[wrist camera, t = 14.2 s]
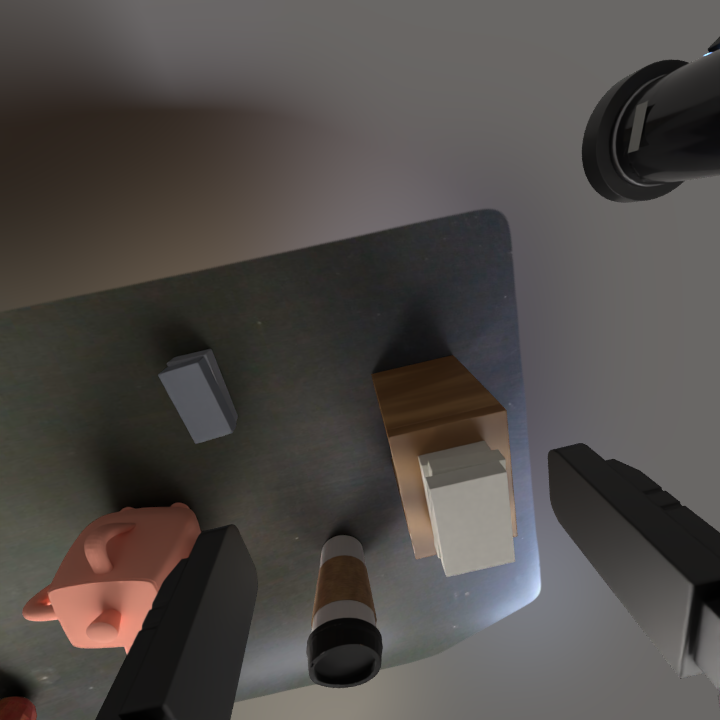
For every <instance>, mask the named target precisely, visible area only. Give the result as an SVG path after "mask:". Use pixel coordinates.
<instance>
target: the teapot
mask: <svg viewBox="0 0 720 720" xmlns="http://www.w3.org/2000/svg"><path fill="white" fill-rule="evenodd" d="M200 533H201V530H200V527H199V524H198V520H197V518H196V515H195V513H194V512H193V511H192V510H191V509H189V507H188V506H187V505H185V504H183V503H174V504H172V505H171V506H170V507H147V508H137V509H135V508H132V507H125V508H123V509H122V510H121V511H119V512H114V513H110V514H107V515H104V516H102V517H100V518H98V519H96V520H95V521H93V522H92V523H90V524H89V525H88V526H87V527H86V528H85V529H84V530H83V531H82V533H81V534H80V535H79V536H78V538H77V539H76V541H75V542H74V543H73V545H72V546H71V548H70V549H69V551H68V553H67V554H66V556H65V558H64V560H63V561H62V563H61V565H60V567H59V569H58V571H57V573H56V575H55V577H54V579H53V581H52V583H51V584H50V585H48V586H47V587H46V588H44V589H43V590H41V591H40V592H39V593H37V594H36V595H35V596H34V597H33V598H31V599H30V600H29V601H28V602H27V603H26V605H25V606H24V608H23V612H22V613H23V616H24V617H25V618H26V619H28V620H30V621H49V620H56V619H58V620H59V622H60V624H61V625H62V627H63V629H64V631H65V633H66V635H67V637H68V638H69V640H70V641H71V643H72V644H73V646H75V647H79V648H110V647H123V646H124V647H125V650H126V653H127V654H128V652H129V650H130V648H131V646H132V644H133V642H134V640H135V638H136V636H137V634H138V632H139V631H140V630H141V629H142V624H143V621H144V619H145V617H146V615H147V613H148V611H149V610H150V609H152V603H153V601H154V599H155V597H156V595H157V593H158V591H159V589H160V587H161V585H162V583H163V581H164V580H165V578H166V577H167V576H168V575H169V574H170V572H171V571H172V570H173V569H174V568H175V566H176V565H177V564H178V563H179V562H180V560H181V559H184V558H188V557H189V555H190V553H191V551H192V549H193V546H194V544H195V542H196V540H197V537H198V536H199V534H200ZM50 604H52V605H50Z"/></svg>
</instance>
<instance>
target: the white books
mask: <svg viewBox="0 0 720 720" xmlns="http://www.w3.org/2000/svg"><path fill="white" fill-rule="evenodd" d="M418 459H419V464H420V469H421V475H422V480H423V485H424V490H425V495H426V500H427V505H428V510H429V515H430V520H431V525H432V530H433V535H434V545H435V549H436V552H437V555H438V558H439V559H440V558H441V556H440V551H439V545H438V540H437V535H436V530H435V525H434V520H433V514H432V509H431V504H430V499H429V494H428V488H427V483H426V477H429V476H433V475H438V474H442V473H446V472H451V471H455V470H459V469H464V468H468V467H472V466H477V465H481V464H485V463H490V462H494V461H499V462H500V463H501V464H502V466H503V467H504V469H505V470H506V459H505V458H504V457H503V455H502V454H501V453H500V451H499V450H498V449H497V450H491V449H490V447H489V446H488V445H487V443H486V442H485V441H480V442H476V443H472V444H467V445H463V446H459V447H454V448H450V449H446V450H441V451H437V452H433V453H428V454H424V455H420V456H418Z"/></svg>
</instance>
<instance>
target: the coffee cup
mask: <svg viewBox="0 0 720 720" xmlns="http://www.w3.org/2000/svg"><path fill="white" fill-rule="evenodd" d="M376 621H377V619H376V613H375V608H374V603H373V598H372V593H371V588H370V584H369V579H368V574H367V569H366V565H365V559H364V553H363V548H362V545H361V543H360V542H359V541H358V540H357V539H356V538H354V537H351V536H347V535H340V536H335V537H333V538H331V539H329V540H328V541H327V542H326V543H325V544H324V546H323V548H322V554H321V562H320V570H319V575H318V581H317V588H316V595H315V601H314V608H313V615H312V623H311V626H312V633H311V634H310V636H309V638H308V641H307V652H306V653H307V657H308V670H309V676H310V679H311V680H312V681H313V682H314V683H316V684H318V685H321V686H325V687H332V688H346V687H353V686H357V685H361V684H363V683H366V682H367V681H369V680H371V679H372V678H373V677H375V676H376V675H377V673H378V672H379V670H380V668H381V655H382V649H383V646H382V637H381V634H380V632H379V630H378V629H377V628H376Z"/></svg>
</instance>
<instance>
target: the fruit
mask: <svg viewBox="0 0 720 720" xmlns="http://www.w3.org/2000/svg"><path fill="white" fill-rule="evenodd" d="M36 718H37V713H36V709H35V706H34V705H33V704H32V702H31V701H30V700H29V699H27V698H24V697H23V696H21V697H17V696H14V697H6V698H3V699H1V700H0V720H36Z"/></svg>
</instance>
